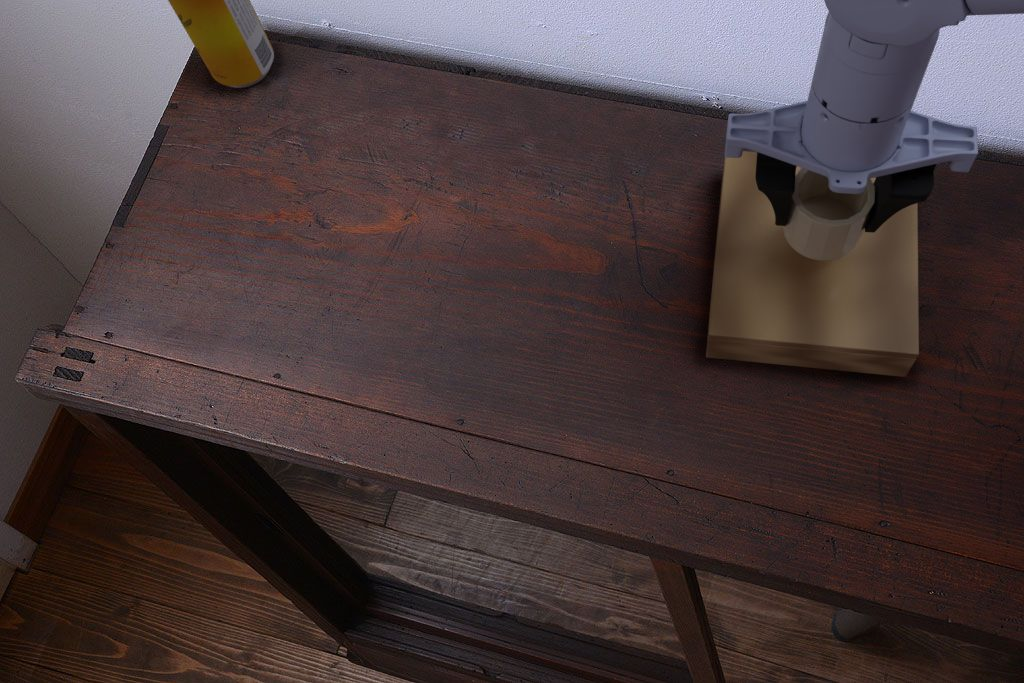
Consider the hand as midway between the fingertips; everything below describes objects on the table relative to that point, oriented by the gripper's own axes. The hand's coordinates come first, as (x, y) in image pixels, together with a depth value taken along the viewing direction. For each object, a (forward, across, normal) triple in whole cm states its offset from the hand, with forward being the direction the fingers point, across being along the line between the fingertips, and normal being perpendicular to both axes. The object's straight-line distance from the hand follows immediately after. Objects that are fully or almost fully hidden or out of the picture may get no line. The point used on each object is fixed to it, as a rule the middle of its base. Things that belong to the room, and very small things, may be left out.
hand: (824, 216), depth 67 cm
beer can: (+8, -51, +17) cm, 54 cm away
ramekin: (+1, 0, 0) cm, 1 cm away
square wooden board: (+8, 0, 0) cm, 8 cm away
